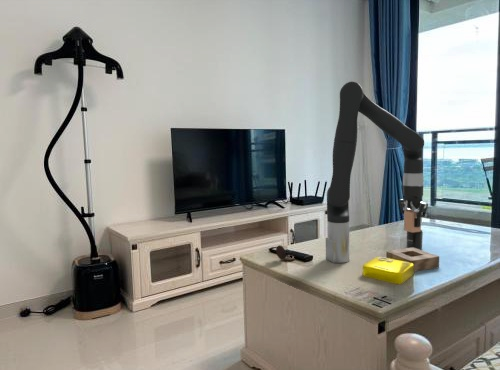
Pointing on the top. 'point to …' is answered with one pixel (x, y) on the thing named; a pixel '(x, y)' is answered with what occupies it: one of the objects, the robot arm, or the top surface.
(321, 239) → the top surface
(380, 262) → the element tile
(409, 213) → the terracotta peg
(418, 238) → the supplement bottle
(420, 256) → the walnut base
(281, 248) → the compass
